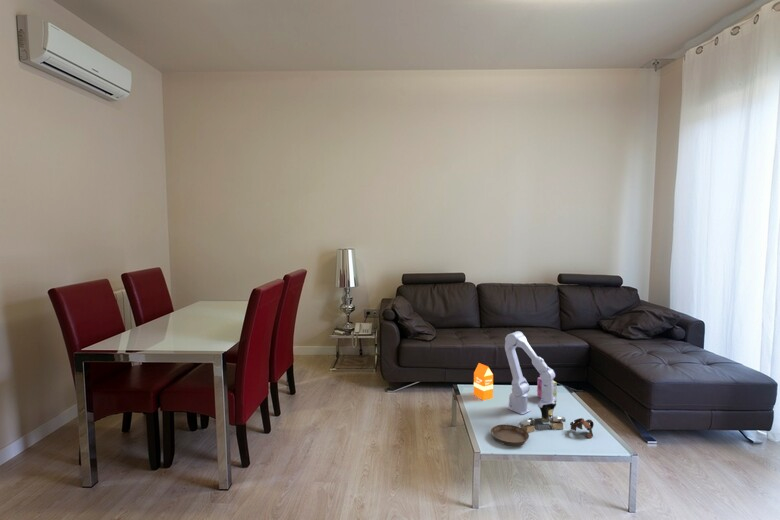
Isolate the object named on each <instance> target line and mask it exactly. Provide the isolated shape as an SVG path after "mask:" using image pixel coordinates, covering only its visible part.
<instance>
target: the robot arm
mask: <svg viewBox="0 0 780 520" xmlns="http://www.w3.org/2000/svg"><path fill="white" fill-rule="evenodd" d="M504 341H505V342H504V350H505V355H506V357H507V361H508V365H509V368H510V372H511V377H512V380H511V393H510V394H509V398H508V408H507V409H509V410H511V411H513V412H515V413H517V414H520V415H526V414H527V413H529V412H531V409H529V408H528V392H529V391H530V388H531V387H530V384H529V383H528V381H527V379H526V378H525V376H523V372H522V368H521V366H520V361H519V357H518V355H517V352H516V348H521V349H522V350H523V351H524V352H525V353H526V354H527V356H528V357H529V358H530V359H531V364H532V365H533V367H534V368H535V369H536V370H537V372H538V373H539V377H540V378H541V380H542V398H540V400H539V401H538V402H537V407H538V408H539V410H540V413H541V417H543V418H545V419H547V414H548V410H549V408H552V409H553V411H554V410H555V408H556V406H557V403H556V402H557V401H556V397H554V396H553V381H554V379H555V378H556V372H555V370H554V369H552V368H551V367H549V366H548V364H547V363H546V362H545V360H544V358H542V357H541V356H538V355H537V353H536V352H535V351H534V349H533V348H532V347H531V345H530V344H529V342H528V340H527V337H526V336H525V335H524V333H523V332H522V331H519V330H517V331H516V330H515V332H511V333H508V334H507V335H506V337H505V338H504ZM554 401H556V402H554Z"/></svg>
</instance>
